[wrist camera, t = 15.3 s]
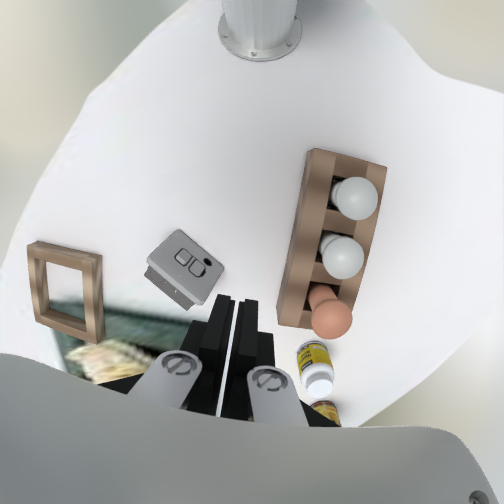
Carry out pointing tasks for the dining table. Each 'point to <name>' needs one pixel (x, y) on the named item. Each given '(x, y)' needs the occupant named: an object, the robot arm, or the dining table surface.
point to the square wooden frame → (92, 290)
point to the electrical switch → (183, 270)
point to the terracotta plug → (327, 311)
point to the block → (309, 231)
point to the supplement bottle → (315, 369)
